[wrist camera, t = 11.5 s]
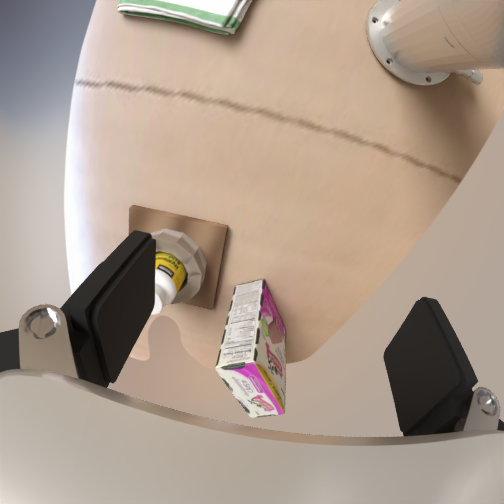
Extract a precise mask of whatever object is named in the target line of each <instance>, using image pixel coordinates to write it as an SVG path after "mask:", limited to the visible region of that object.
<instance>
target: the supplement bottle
mask: <svg viewBox="0 0 504 504" xmlns="http://www.w3.org/2000/svg"><path fill="white" fill-rule="evenodd" d="M187 274H188V272H187V270H186V268H185V266H184V264H183V262H182V261H180V260H179V259H178V258H177V257H175V256H174V255H173V254H170V253H166V252H162V251H158V252H157V253H156V267H155V305H154V309H153V311H152V313H151V315H155V314H158V313H160V312H161V310H162V309H163V307H164V306H166V305H168V304H170V303H171V302H172V301H173V300H174V298H175V296H176V294H177V292H178V290H179V288H180V287H181V285H182V283H183V281H184V279H185V277H186V276H187Z"/></svg>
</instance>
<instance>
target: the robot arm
mask: <svg viewBox="0 0 504 504" xmlns="http://www.w3.org/2000/svg"><path fill="white" fill-rule="evenodd" d="M399 1H400V2H399ZM372 20H373V21H374V22H375V23H373V22H372ZM366 32H367V38H368V41H369V44H370V46H371V49H372V50H373V52H374V54H375V56H376V57H377V59H378V60H379V61H380V63H381V64H382V65H383V66H384V67H385V68H386V69H387V70H388V71H389V72H391V73H392V74H393V75H395V76H396V77H398V78H400V79H401V80H403V81H405V82H408V83H411V84H415V85H421V86H422V85H434V84H438V83H440V82H442V81H444V80H445V79H446V78H448V77H449V75H450V74H451V73H453V72H454V73H456V74H458V75H460V74H463V75H464V76H466V77H467V78H468V79H469V80H471V81H472V82H474V83H476V84H480V83H481V82H482V80H483V74H482V73H481V72H480V71H478V70H477V69H504V0H380V1H379V2H377V3H376V4H375V5H374V6H373V7H372V9H371V11H370V12H369V14H368V18H367V22H366ZM386 60H388V61H389V64H388V63H387V62H386ZM426 78H427V81H426ZM155 267H156V239H153V238H152V235H151V233H147V232H142V231H138V230H134V231H133V232H132V233H131V234H130V235H129V236H128V237H127V238H126V239H125V240H124V241H123V242H122V243H121V244H120V245H119V246H118V247H117V248H116V249H115V250H114V251H113V252H112V253H111V254H110V255H109V256H108V257H107V259H106V260H105V261H104V262H102V263H100V264H99V265H98V266H97V267H96V269H95V270H94V271H93V272H92V273H91V274H90V275H89V276H88V277H87V278H86V280H85V281H84V282H83V283H82V284H81V285H80V286H79V287H78V289H77V290H76V291H75V292H74V293H73V294H72V295H71V297H70V298H69V299H68V300H67V301H66V302H65V304H64V305H63V306H62V307H61V308H60V309H59V308H57V307H56V306H53V305H38V306H35V307H33V308H31V309H29V310H28V311H27V312H26V313H25V314H24V315H23V316H22V318H21V320H20V323H19V328H18V329H14V330H10V331H5V332H1V333H0V504H504V422H503V421H501V420H500V419H499V416H500V405H499V401H498V399H497V397H496V396H495V395H494V394H493V393H492V392H491V391H490V390H489V389H487V388H484V387H478V388H477V389H476V390H475V391H474V392H473V391H472V387H473V386H474V385H475V384H476V383H477V382H478V380H477V377H476V375H475V373H474V370H473V368H472V366H471V364H470V362H469V360H468V358H467V355H466V353H465V351H464V349H463V348H462V345H461V343H460V341H459V339H458V337H457V335H456V333H455V331H454V330H453V328H452V326H451V324H450V322H449V320H448V318H447V317H446V315H445V313H444V311H443V309H442V308H441V306H440V304H439V303H438V301H437V300H436V299H432V298H427V297H422V298H421V299H420V300H418V301H416V303H415V304H414V306H413V308H412V309H411V311H410V313H409V314H408V316H407V318H406V319H405V321H404V322H403V324H402V325H401V327H400V329H399V330H398V332H397V333H396V335H395V336H394V338H393V339H392V341H391V342H390V344H389V345H388V347H387V348H386V350H385V352H384V362H385V365H386V370H387V373H388V378H389V382H390V386H391V390H392V394H393V399H394V402H395V408H396V412H397V417H398V422H399V426H400V430H401V431H402V432H403V435H404V436H403V437H341V436H323V435H310V434H299V433H291V432H283V431H275V430H268V429H261V428H255V427H249V426H243V425H238V424H233V423H228V422H223V421H218V420H214V419H209V418H205V417H201V416H196V415H192V414H188V413H185V412H181V411H178V410H174V409H171V408H167V407H163V406H160V405H157V404H153V403H149V402H147V401H144V400H140V399H137V398H134V397H131V396H128V395H125V394H123V393H119V392H117V391H114V390H111V389H108V388H107V387H108V385H109V383H110V382H111V383H114V382H115V381H116V380H117V378H118V376H119V374H120V372H121V370H122V368H123V366H124V364H125V362H126V360H127V358H128V356H129V354H130V352H131V350H132V348H133V347H134V345H135V343H136V341H137V339H138V337H139V335H140V333H141V331H142V330H143V328H144V326H145V324H146V322H147V320H148V319H149V317H150V315H151V313H152V311H153V309H154V305H155Z"/></svg>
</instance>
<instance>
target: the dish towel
mask: <svg viewBox="0 0 504 504" xmlns="http://www.w3.org/2000/svg"><path fill="white" fill-rule="evenodd" d="M251 2H252V0H120V2H119V4H118V8H119V9H118V12H119V13H122V14H126V15H132V16H139V17H147V18H153V19H160V20H166V21H173V22H177V23H181V24H186V25H190V26H194V27H197V28H199V29H203V30H207V31H210V32H213V33H218V34H225V35H229V33H231V34H234V33H235V31H236V29H237V28H238V26H239V25H240V23H241V21H242V19H243V18H244V16H245V13H246V11H247V10H248V8H249V6H250V4H251Z"/></svg>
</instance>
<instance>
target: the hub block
mask: <svg viewBox="0 0 504 504" xmlns="http://www.w3.org/2000/svg"><path fill="white" fill-rule="evenodd" d="M227 229H228V226H227V225H223V224H219V223H214V222H210V221H205V220H201V219H196V218H192V217H187V216H182V215H178V214H173V213H169V212H164V211H159V210H155V209H150V208H145V207H140V206H136V205H132V206H131V207H130V208H129V235H130V234H131V233H132V232H133V231H134V230H138V231H142V232H147V233H151V235H152V238H153V239H156V253H157V252H158V251H162V252H166V253H170V254H173V255H174V256H175V257H177V258H178V259H179V260H180V261H182V262H183V264H184V266H185V268H186V270H187V272H188V274H187V276H186V277H185V279H184V281H183V283H182V285H181V287H180V288H179V290H178V292H177V294H176V296H175V298H174V300H173V301H172V302H171V304H174V303H179V302H183V303H187V304H191V305H195V306H199V307H203V308H207V309H211V310H212V309H213V306H214V301H215V295H216V290H217V284H218V278H219V272H220V267H221V261H222V256H223V250H224V245H225V239H226V234H227Z"/></svg>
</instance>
